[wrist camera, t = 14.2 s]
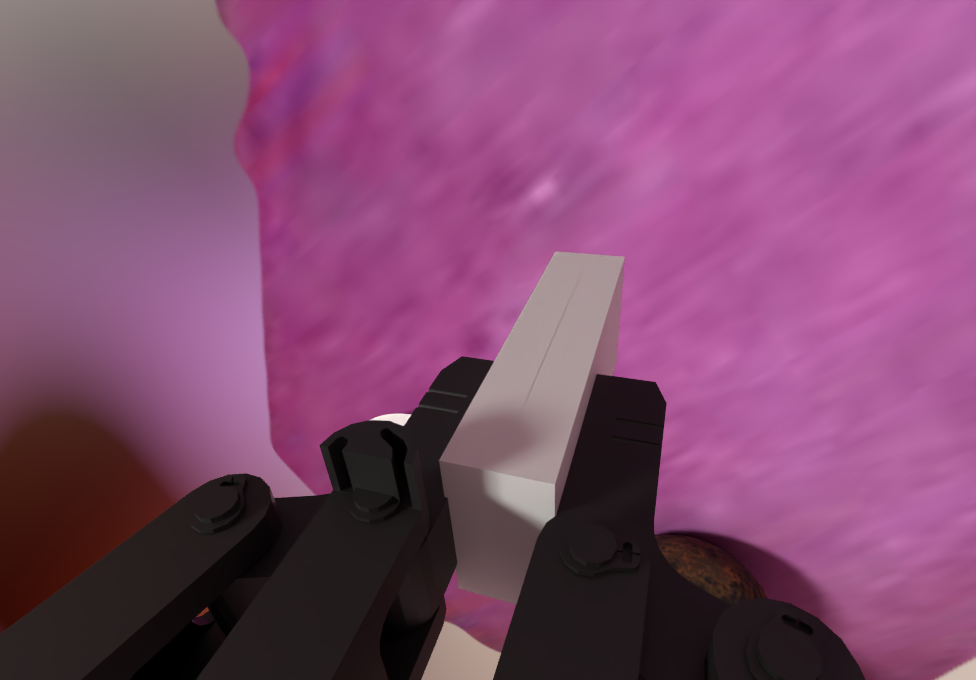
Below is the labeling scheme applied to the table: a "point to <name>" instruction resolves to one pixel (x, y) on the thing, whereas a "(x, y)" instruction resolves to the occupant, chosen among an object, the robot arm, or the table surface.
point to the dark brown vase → (709, 568)
